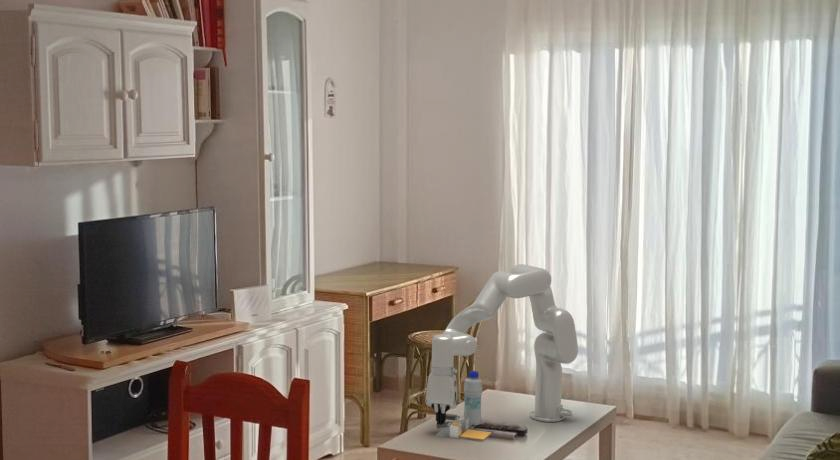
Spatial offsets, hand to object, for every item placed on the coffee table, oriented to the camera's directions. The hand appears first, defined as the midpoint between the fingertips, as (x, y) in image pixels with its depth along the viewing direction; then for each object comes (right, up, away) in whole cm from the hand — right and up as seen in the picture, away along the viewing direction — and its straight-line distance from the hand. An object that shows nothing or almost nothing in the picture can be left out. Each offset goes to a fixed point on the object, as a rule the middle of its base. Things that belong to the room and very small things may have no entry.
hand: (440, 423), depth 352 cm
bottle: (+12, -4, +14) cm, 19 cm away
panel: (+8, -5, +2) cm, 10 cm away
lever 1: (+1, -1, 0) cm, 2 cm away
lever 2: (+4, 0, +7) cm, 8 cm away
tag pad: (+12, -4, 0) cm, 13 cm away
